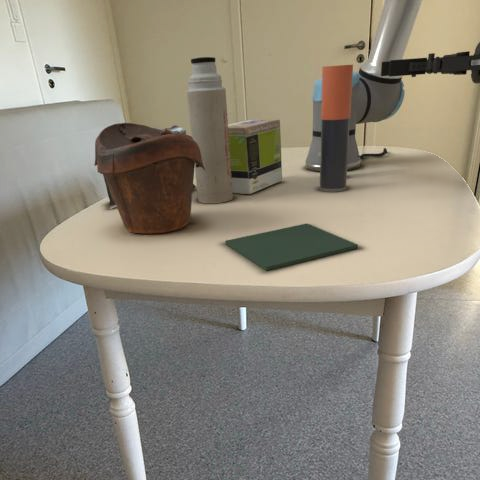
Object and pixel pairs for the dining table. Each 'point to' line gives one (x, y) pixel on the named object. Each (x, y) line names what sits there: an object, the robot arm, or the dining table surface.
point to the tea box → (254, 155)
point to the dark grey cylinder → (334, 155)
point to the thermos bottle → (210, 131)
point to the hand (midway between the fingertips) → (385, 68)
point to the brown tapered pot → (148, 175)
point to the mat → (289, 246)
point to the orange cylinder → (336, 92)
